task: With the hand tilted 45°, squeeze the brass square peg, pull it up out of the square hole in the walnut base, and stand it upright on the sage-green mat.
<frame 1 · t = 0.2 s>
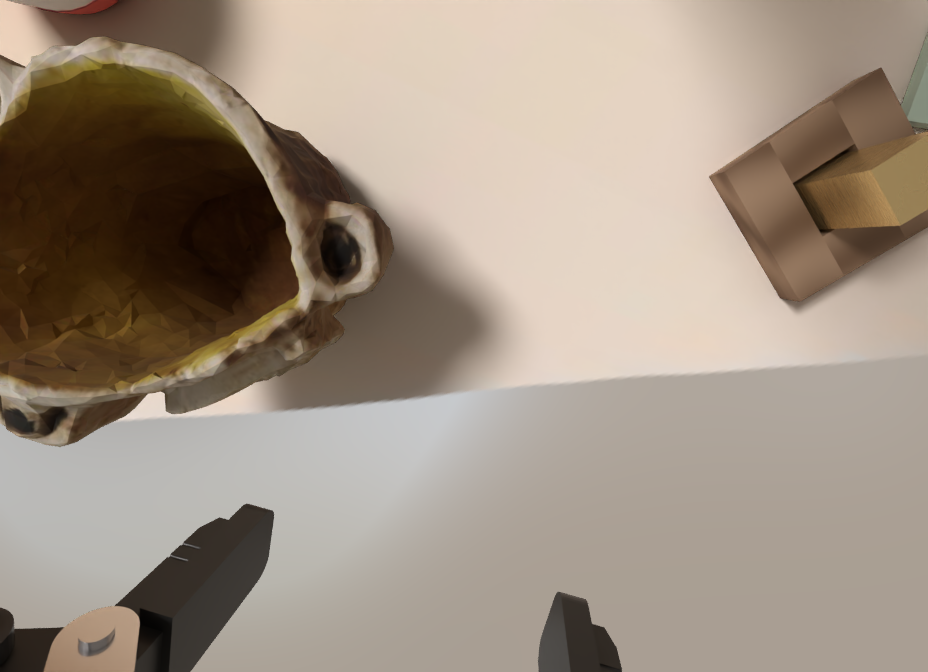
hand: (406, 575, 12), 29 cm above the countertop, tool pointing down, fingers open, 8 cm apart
peg: (859, 187, 31), in the socket base
socket base: (815, 194, 35), on the countertop
ceramic vessel: (299, 238, 40), on the countertop
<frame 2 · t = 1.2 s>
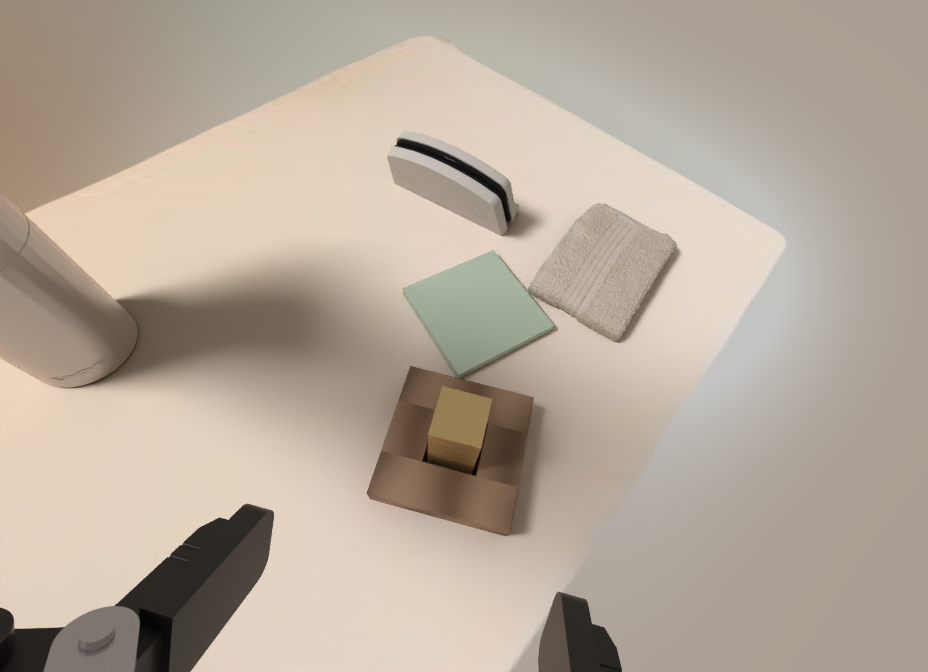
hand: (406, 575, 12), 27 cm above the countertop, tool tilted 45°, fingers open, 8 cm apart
peg: (457, 434, 37), in the socket base
socket base: (454, 450, 41), on the countertop
mat: (476, 311, 49), on the countertop
washcloth: (601, 273, 54), on the countertop
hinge: (451, 205, 57), on the countertop
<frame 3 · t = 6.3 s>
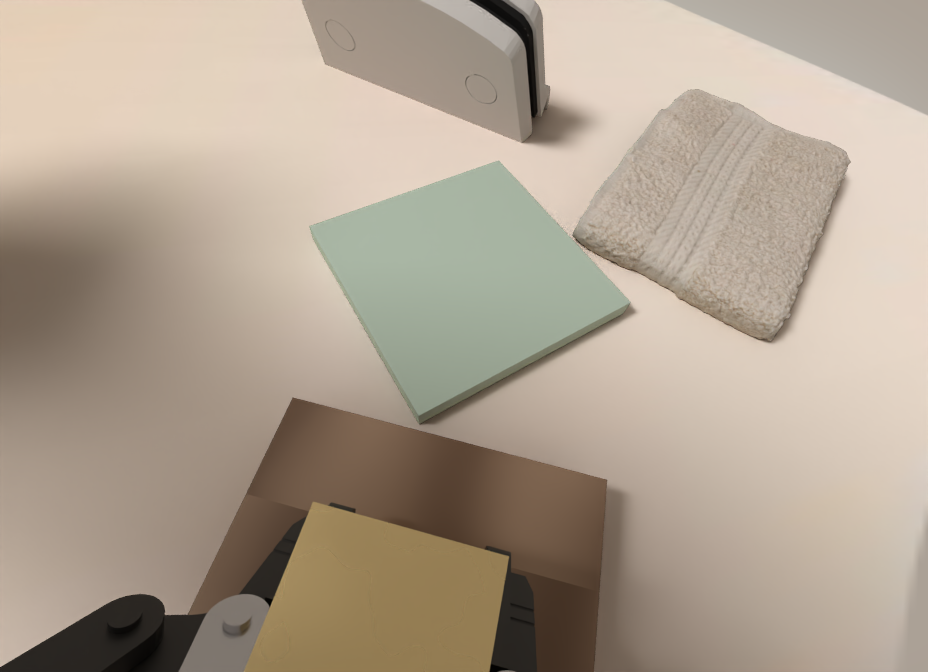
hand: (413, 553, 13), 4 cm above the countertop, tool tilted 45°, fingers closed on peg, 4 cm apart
peg: (391, 632, 11), in the socket base, touching gripper
socket base: (399, 622, 15), on the countertop
mat: (464, 275, 23), on the countertop
washcloth: (706, 212, 28), on the countertop
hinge: (426, 98, 32), on the countertop
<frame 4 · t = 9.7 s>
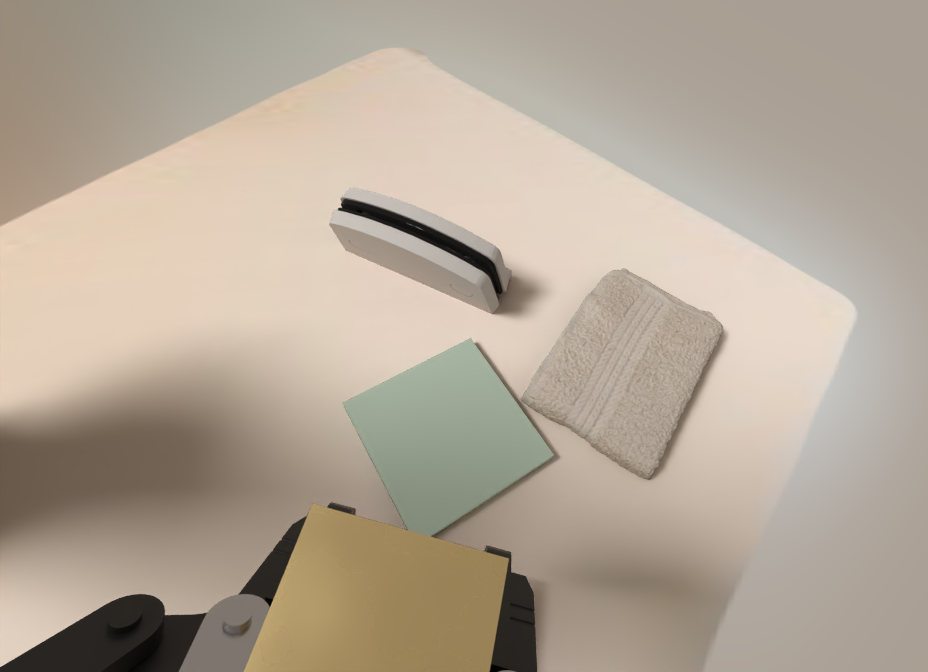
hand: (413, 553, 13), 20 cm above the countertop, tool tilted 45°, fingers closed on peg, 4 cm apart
peg: (391, 634, 11), point 20 cm above the countertop, touching gripper
mat: (446, 432, 35), on the countertop
washcloth: (621, 367, 40), on the countertop
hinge: (422, 275, 44), on the countertop
when the fingers open (6 cm above the countertop, at t = 13.5 s): peg stays where it is, resting on mat.
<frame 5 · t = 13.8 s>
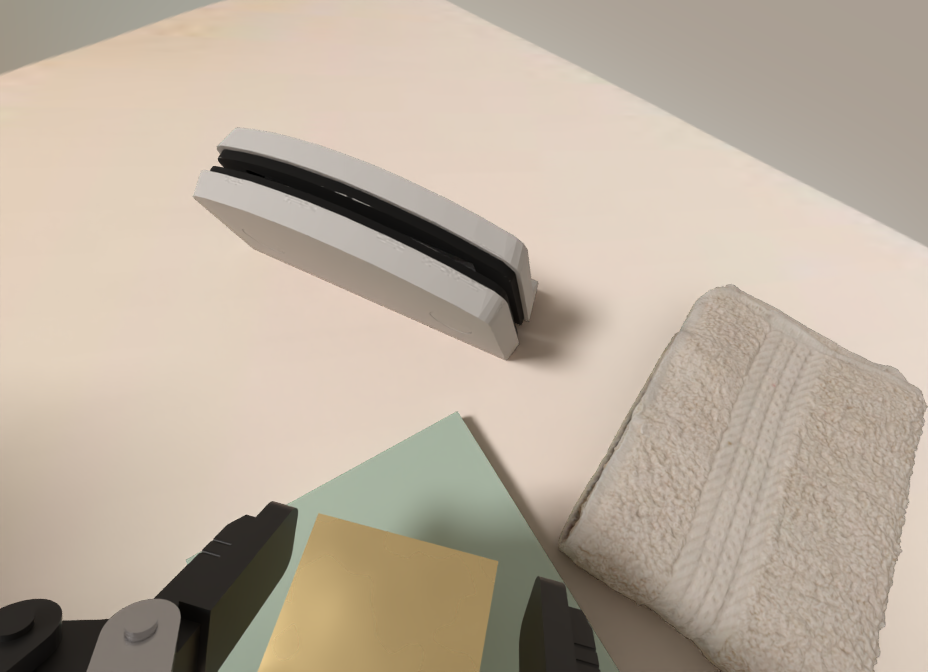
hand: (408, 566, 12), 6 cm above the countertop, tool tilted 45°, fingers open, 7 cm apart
peg: (392, 632, 12), on the mat, point 6 cm above the countertop
mat: (402, 621, 17), on the countertop
washcloth: (736, 467, 22), on the countertop
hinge: (383, 290, 25), on the countertop
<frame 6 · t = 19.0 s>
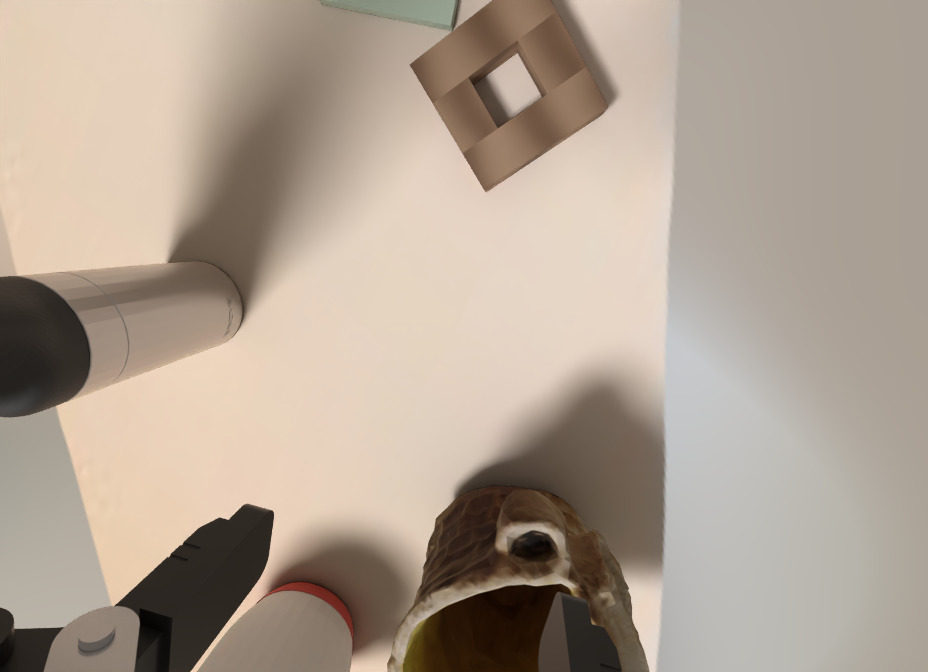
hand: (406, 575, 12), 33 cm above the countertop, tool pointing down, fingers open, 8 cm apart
socket base: (508, 94, 39), on the countertop
citrus juicer: (316, 621, 55), on the countertop
ceramic vessel: (512, 522, 49), on the countertop
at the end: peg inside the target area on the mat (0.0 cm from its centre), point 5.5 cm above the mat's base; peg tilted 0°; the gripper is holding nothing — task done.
